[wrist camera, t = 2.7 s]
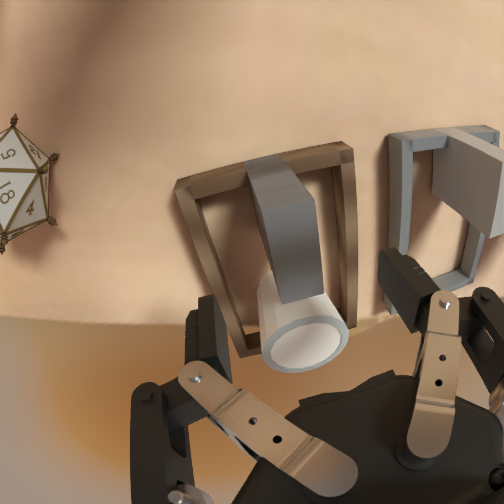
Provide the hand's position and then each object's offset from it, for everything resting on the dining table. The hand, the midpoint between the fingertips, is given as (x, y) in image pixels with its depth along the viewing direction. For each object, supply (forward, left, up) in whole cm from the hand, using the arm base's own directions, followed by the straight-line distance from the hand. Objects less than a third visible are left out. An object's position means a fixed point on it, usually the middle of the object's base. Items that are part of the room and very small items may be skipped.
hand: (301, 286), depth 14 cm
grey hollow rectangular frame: (+6, +16, -10) cm, 20 cm away
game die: (-8, -17, -10) cm, 21 cm away
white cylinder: (+9, 0, -10) cm, 14 cm away
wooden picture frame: (+6, 0, -10) cm, 12 cm away
